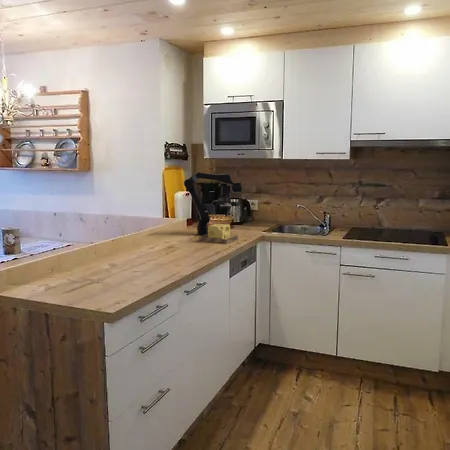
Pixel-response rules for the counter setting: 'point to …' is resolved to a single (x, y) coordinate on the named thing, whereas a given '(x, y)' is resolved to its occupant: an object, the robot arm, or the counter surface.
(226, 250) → the counter surface
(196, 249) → the counter surface
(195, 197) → the robot arm
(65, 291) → the counter surface
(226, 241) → the bay
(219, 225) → the cheese
